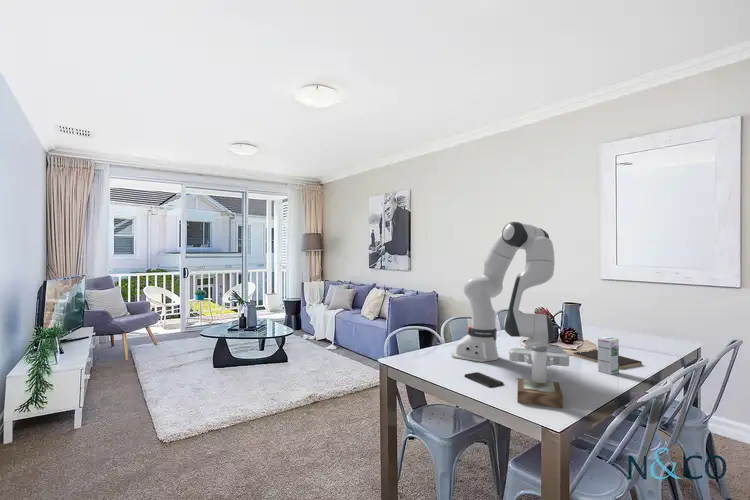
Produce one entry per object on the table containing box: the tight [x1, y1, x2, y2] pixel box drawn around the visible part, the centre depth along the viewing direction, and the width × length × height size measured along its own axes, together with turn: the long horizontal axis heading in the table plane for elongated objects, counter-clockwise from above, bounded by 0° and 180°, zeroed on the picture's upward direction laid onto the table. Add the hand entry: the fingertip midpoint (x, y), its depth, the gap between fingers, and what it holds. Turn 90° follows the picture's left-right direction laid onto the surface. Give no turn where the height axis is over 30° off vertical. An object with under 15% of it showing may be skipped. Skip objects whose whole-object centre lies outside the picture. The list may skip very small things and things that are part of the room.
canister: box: [531, 345, 548, 383], centre depth 139 cm, size 5×5×12 cm
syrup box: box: [597, 336, 620, 376], centre depth 168 cm, size 6×6×14 cm
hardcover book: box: [573, 349, 643, 370], centre depth 186 cm, size 16×23×2 cm
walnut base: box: [516, 377, 564, 409], centre depth 139 cm, size 14×14×4 cm
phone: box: [464, 371, 504, 388], centre depth 157 cm, size 8×1×15 cm
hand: (539, 362), depth 138 cm, fingers closed on canister, 5 cm apart
